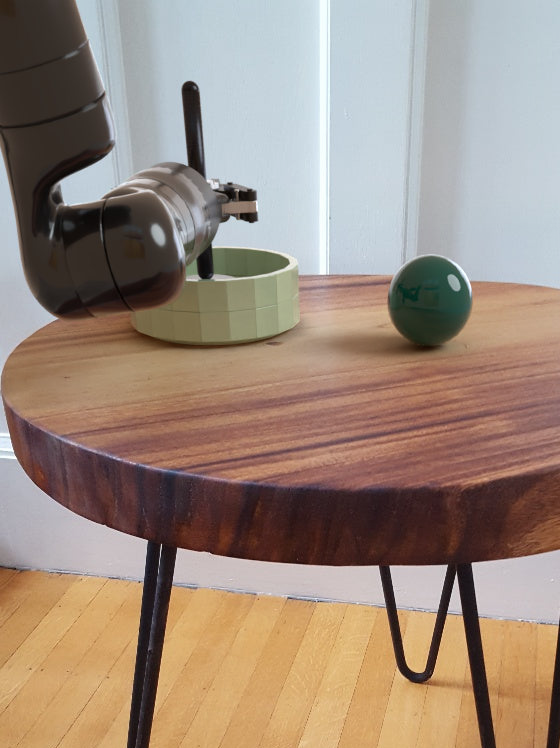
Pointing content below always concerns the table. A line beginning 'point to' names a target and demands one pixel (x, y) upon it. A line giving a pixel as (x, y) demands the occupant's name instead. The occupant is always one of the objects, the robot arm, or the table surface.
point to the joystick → (197, 164)
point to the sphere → (430, 300)
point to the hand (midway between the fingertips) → (205, 190)
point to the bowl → (230, 301)
